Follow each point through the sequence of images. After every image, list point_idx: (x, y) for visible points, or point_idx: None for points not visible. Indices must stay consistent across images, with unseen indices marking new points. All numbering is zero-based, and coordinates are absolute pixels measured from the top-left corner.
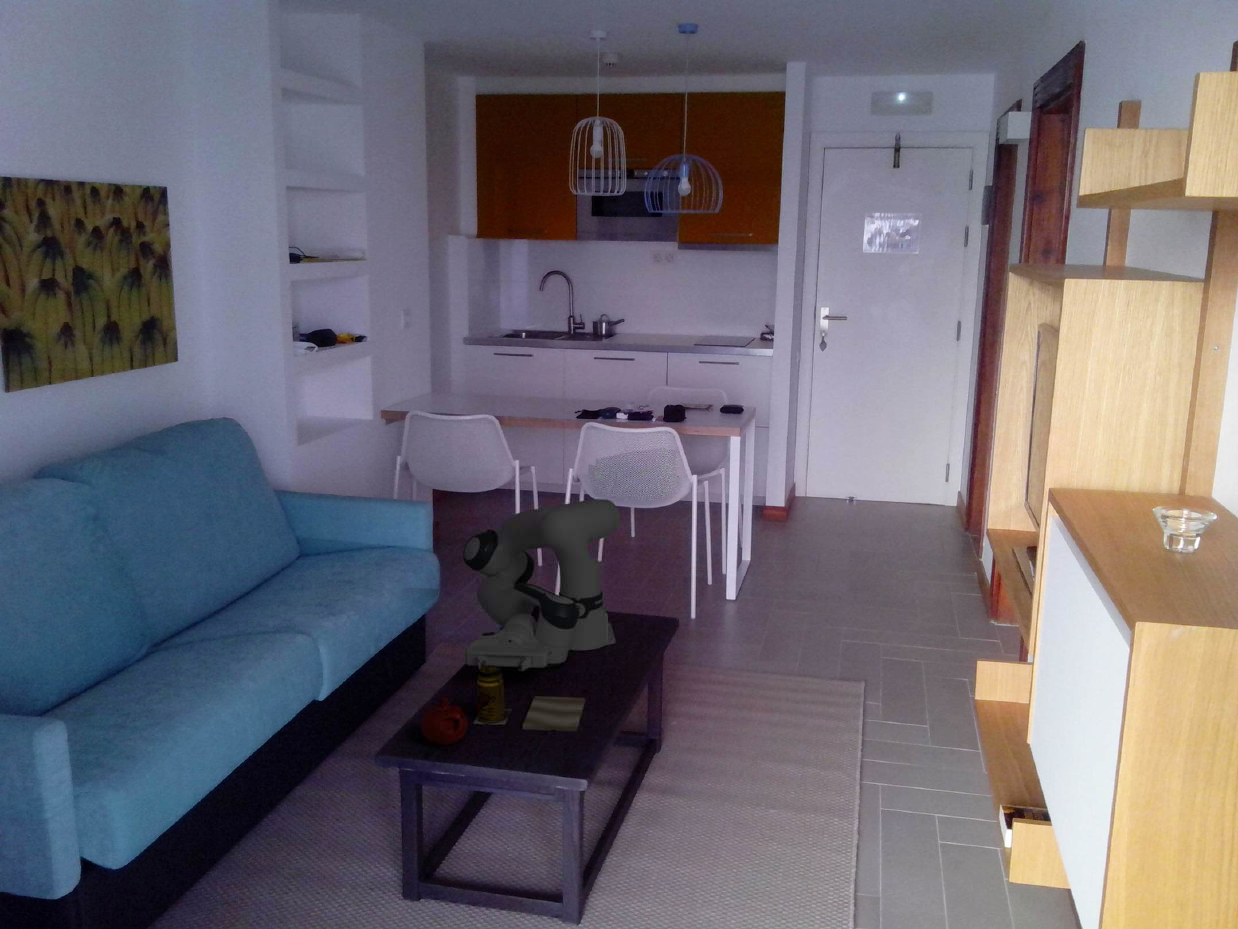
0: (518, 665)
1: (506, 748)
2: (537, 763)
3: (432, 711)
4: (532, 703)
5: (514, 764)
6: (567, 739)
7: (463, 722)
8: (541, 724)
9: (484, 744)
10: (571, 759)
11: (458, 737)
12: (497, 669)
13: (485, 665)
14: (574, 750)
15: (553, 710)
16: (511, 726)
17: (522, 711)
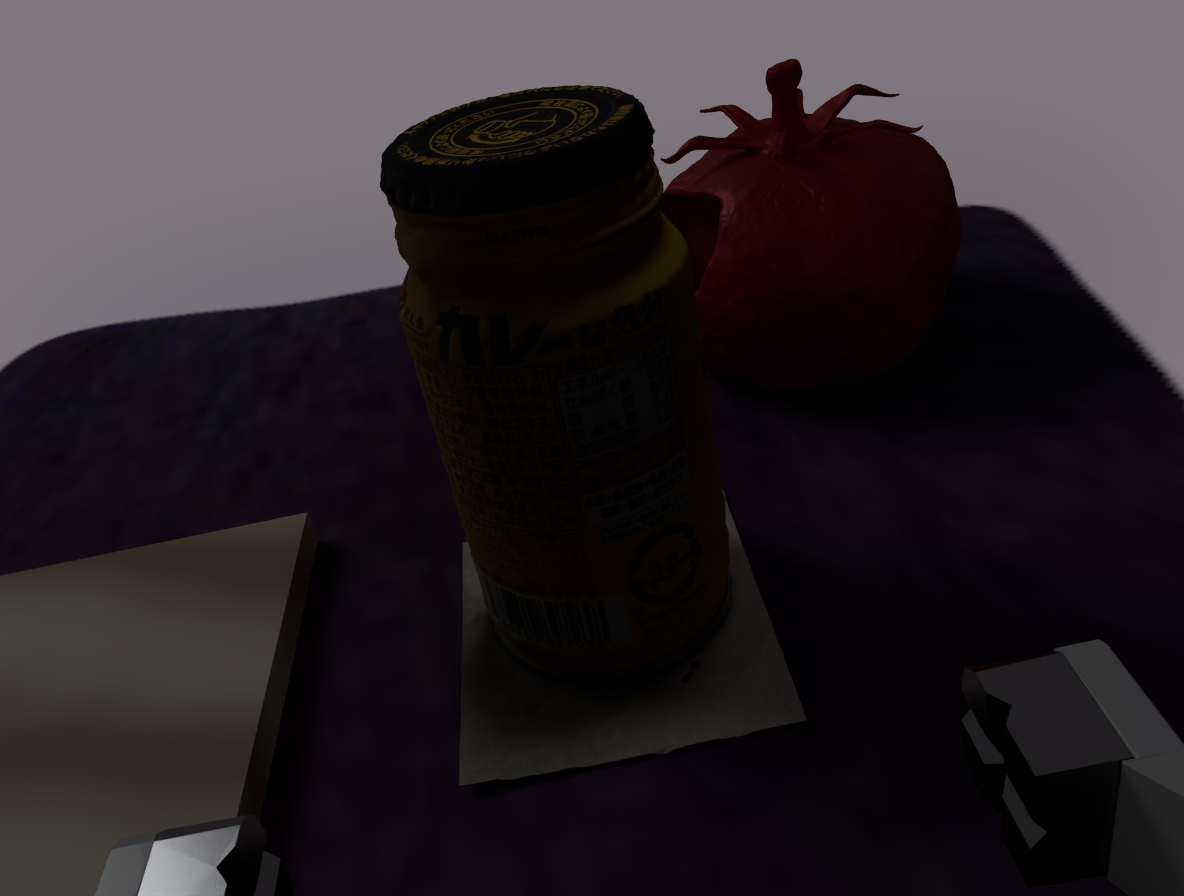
0: (241, 818)
1: (398, 377)
2: (226, 344)
3: (854, 120)
4: None
5: (337, 313)
6: (15, 532)
7: None
8: (159, 554)
9: None
10: (49, 405)
11: None
12: (417, 141)
13: (1013, 799)
14: (8, 461)
15: (4, 784)
16: (410, 552)
17: (345, 795)
